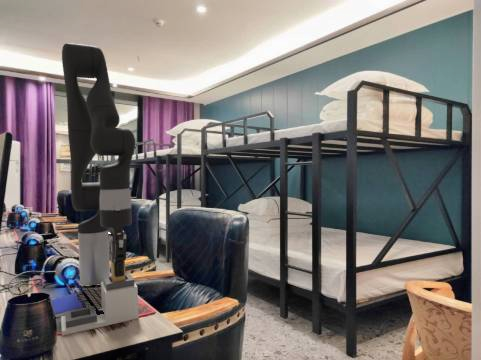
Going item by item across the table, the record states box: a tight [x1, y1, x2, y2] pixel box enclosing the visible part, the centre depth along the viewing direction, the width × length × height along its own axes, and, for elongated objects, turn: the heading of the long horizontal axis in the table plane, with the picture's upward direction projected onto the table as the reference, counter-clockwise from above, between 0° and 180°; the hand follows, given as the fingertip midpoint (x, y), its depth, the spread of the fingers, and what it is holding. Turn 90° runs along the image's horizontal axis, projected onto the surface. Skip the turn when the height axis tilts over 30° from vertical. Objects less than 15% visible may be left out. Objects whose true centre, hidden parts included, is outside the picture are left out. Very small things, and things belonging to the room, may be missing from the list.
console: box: [60, 272, 140, 336], centre depth 85 cm, size 9×17×10 cm, turn 118°
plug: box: [109, 252, 126, 282], centre depth 87 cm, size 3×3×8 cm
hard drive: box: [50, 293, 83, 318], centre depth 94 cm, size 2×8×12 cm
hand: (118, 274), depth 87 cm, fingers closed on plug, 3 cm apart
